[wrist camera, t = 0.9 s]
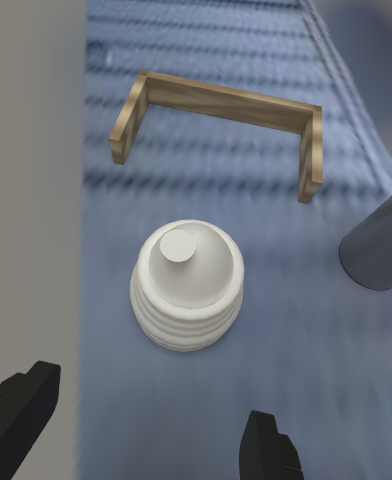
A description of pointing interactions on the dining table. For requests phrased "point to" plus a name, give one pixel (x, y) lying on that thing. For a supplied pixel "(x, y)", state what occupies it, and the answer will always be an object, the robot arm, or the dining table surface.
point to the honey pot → (187, 285)
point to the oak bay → (224, 106)
